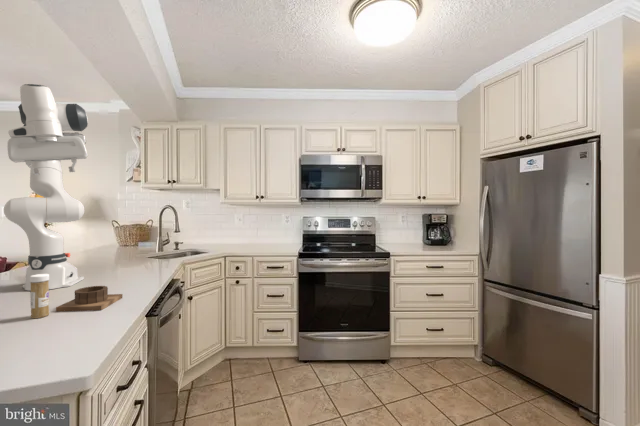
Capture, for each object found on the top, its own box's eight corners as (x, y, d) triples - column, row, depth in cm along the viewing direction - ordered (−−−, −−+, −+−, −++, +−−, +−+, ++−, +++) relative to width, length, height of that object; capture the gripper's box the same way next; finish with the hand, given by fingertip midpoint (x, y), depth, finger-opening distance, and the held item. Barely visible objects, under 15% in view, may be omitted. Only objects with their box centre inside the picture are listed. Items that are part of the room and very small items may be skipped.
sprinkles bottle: (48, 317, 96) (47, 275, 96) (28, 320, 94) (28, 277, 93) (50, 312, 100) (50, 272, 100) (32, 315, 97) (31, 274, 97)
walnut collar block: (83, 298, 115) (82, 284, 115) (122, 297, 117) (122, 283, 117) (56, 311, 101) (55, 295, 101) (101, 310, 103) (101, 294, 103)
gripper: (84, 134, 110) (92, 171, 111) (7, 136, 99) (16, 177, 100) (83, 129, 105) (91, 169, 106) (1, 130, 94) (11, 174, 94)
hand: (54, 173), depth 103 cm, fingers open, 8 cm apart
